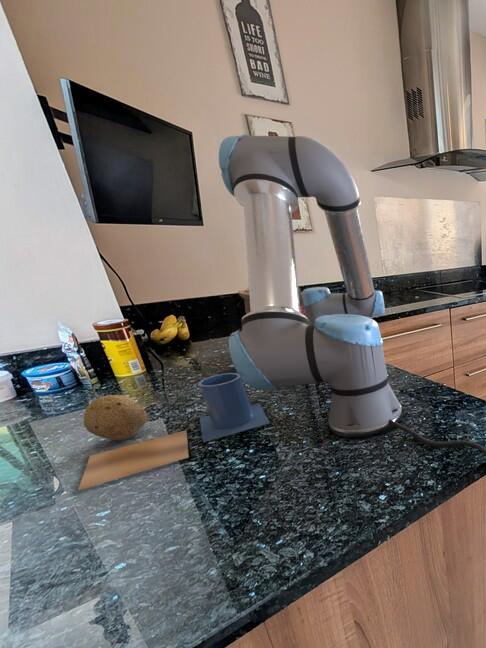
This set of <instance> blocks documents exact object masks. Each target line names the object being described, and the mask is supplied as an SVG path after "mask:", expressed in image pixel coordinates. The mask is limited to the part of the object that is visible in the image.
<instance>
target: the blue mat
mask: <svg viewBox="0 0 486 648" xmlns="http://www.w3.org/2000/svg"><path fill="white" fill-rule="evenodd" d="M250 406H251V409H252V412H253V415H254V416H253V418H252V419H251V420H250V421H248V422H246V423H244V424H242V425H239V426H236V427H232V428H225V429H219V428H215V427H214V426H213V424H212V421H211V418H210V416H209V415H206V416H203V417H199V425H200V432H201V437H202V443H206V442H209V441H213V440H217V439H220V438H223V437H227V436H231V435H234V434H237V433H241V432H245V431H248V430H252V429H255V428H259V427H262V426H265V425H269V424H270V421H269V419H268V417H267V415H266V413H265V410H264V409H263V407H262V405H261V403H260V402H256V403H254V404H250Z"/></svg>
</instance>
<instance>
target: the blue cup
mask: <svg viewBox="0 0 486 648" xmlns="http://www.w3.org/2000/svg"><path fill="white" fill-rule="evenodd" d="M244 384H245V383H244V381H243V380H242V379H241V377H240V376H239V374H238V373H225V374H219V375H218V374H214V375H211V376H208V377H206V378H205V377H204V378H203V379H201V380H199V381H198V382H197V386H198V389H199V392H200V394H201V397H202V400H203V402H204V405H205V408H206V410H207V413H208V416H210V418H211V421H212V424H213V426H214V427H215V428H219V429H225V428H232V427H236V426H239V425H242V424H244V423H246V422H248V421H250V420H251V419H252V418H253V416H254V415H253V412H252V409H251V406H250V405H251V403H250V400H249V397H248V394H247V393H248V392H247V390H246V387H245V385H244Z"/></svg>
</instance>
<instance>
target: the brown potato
mask: <svg viewBox="0 0 486 648" xmlns="http://www.w3.org/2000/svg"><path fill="white" fill-rule="evenodd" d="M115 395H116V394H109V395H108V394H107V395H102V396H99V397H97V398H95V399H94V400H92V401H91V402H90V403H89V404H88V405H87V406H86V408H85V411H84V414H83V425H84V427H85V429H86V430H87V432H89V433H90V434H92V435H94V436H96V437H99V438H103V439H108V440H112V441H116V442H124V441H127V440H130V439H131V438H134V436H136V434H137V433H138V431H140V429H141V428H142V427H143V426H144V425H145V424H146V423H147V421H148V413H147V412H146V410H145V409H144V408H143V407H142V406H140V404H138V403H137V402H136V401H135V400H134V399H133V400H134V401H135V402H134V401H133V400H131V399H128V398H126V397H121V396H115Z"/></svg>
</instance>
